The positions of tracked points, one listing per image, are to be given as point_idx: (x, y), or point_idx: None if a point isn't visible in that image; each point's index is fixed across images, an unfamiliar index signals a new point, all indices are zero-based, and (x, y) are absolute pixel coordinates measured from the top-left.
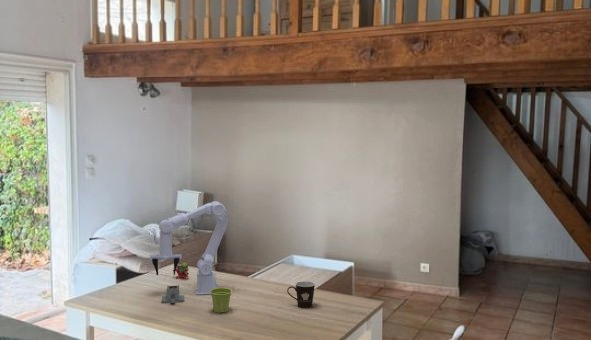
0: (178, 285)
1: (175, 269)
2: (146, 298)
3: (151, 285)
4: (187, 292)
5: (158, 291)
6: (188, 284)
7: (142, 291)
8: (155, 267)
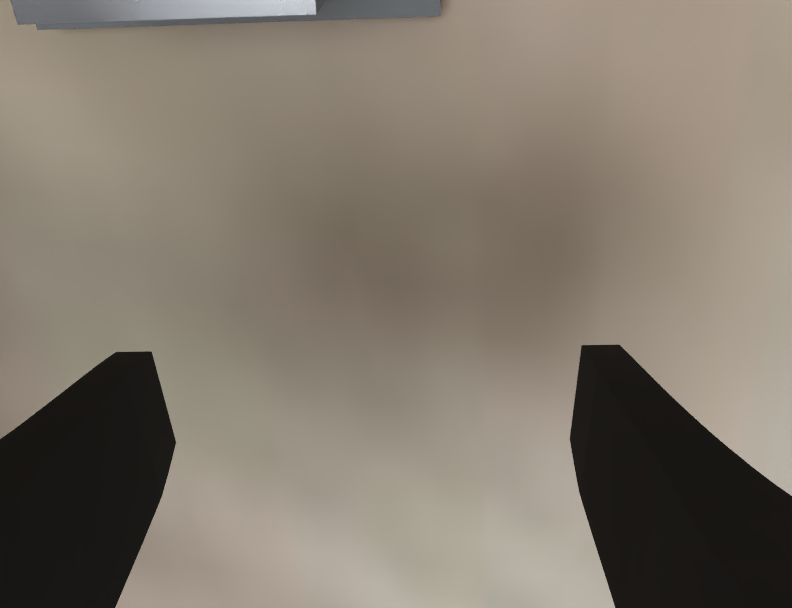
0: (35, 15)
1: (8, 438)
2: (710, 45)
3: (587, 570)
4: (78, 271)
5: (504, 363)
6: (153, 554)
7: (722, 388)
8: (768, 503)
